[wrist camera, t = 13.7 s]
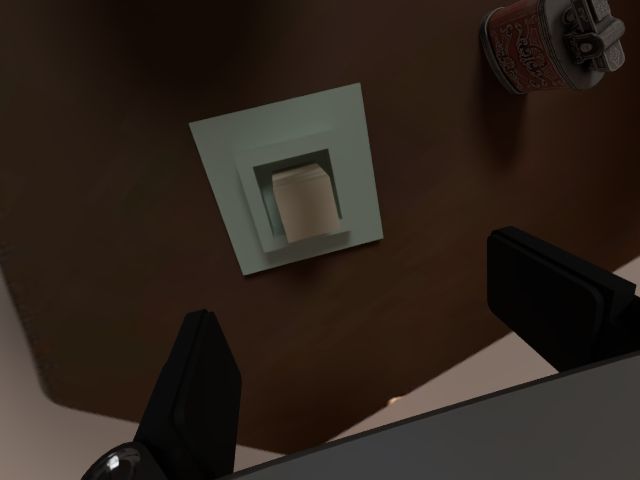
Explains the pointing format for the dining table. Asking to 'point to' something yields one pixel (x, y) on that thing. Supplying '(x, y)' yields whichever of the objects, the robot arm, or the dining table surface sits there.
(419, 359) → the dining table surface
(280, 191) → the birch peg
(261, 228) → the slot holder
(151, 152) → the dining table surface
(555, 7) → the lighter
